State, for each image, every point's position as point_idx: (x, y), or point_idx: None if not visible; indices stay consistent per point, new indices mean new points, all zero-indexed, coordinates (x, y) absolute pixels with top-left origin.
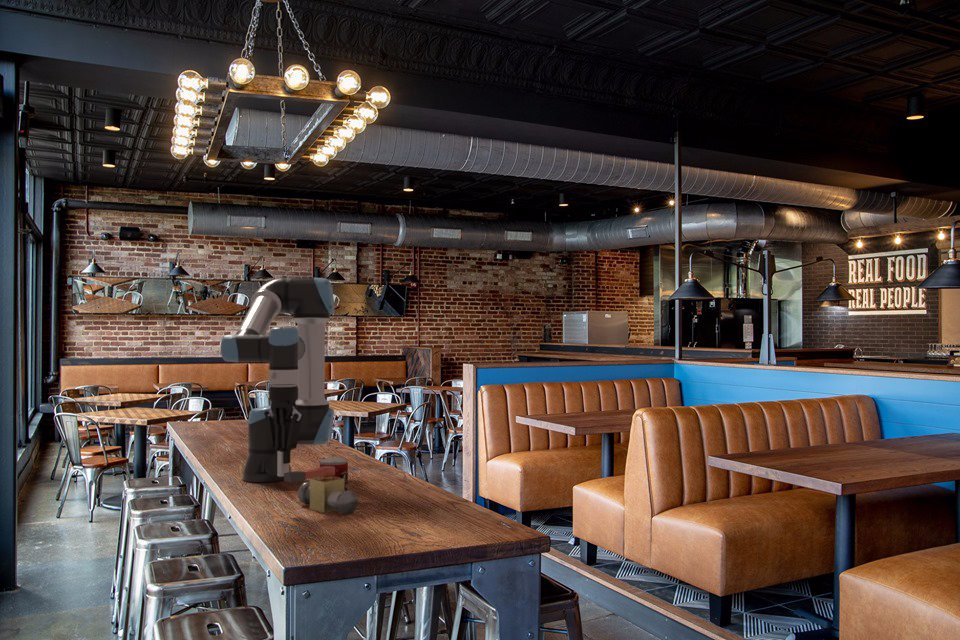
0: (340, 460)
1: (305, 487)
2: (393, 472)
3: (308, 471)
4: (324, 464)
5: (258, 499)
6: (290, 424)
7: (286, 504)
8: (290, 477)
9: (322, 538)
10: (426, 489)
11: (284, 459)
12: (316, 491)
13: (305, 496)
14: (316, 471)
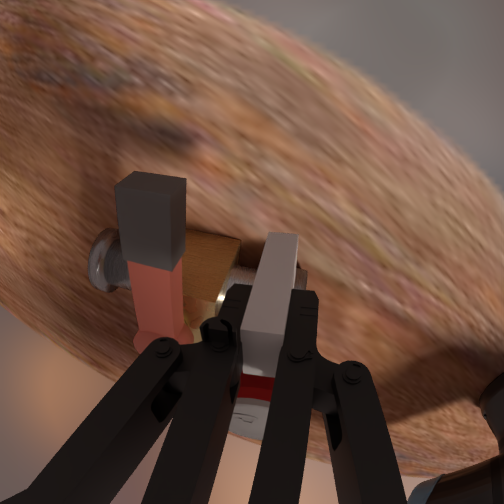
0: (255, 431)
1: None
2: (329, 460)
3: (138, 280)
4: (253, 399)
5: (465, 261)
6: (65, 494)
7: (351, 252)
8: (124, 180)
9: (15, 78)
10: None
11: (241, 302)
12: (188, 267)
13: None
14: (135, 301)
